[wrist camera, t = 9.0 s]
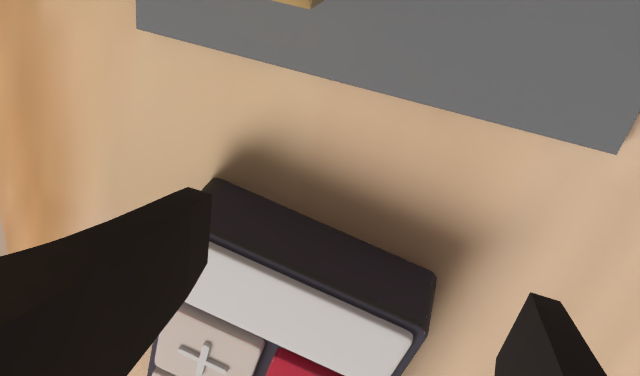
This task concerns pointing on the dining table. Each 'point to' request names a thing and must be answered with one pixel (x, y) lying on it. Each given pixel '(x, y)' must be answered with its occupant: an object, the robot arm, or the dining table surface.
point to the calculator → (293, 299)
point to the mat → (445, 54)
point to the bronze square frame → (301, 3)
